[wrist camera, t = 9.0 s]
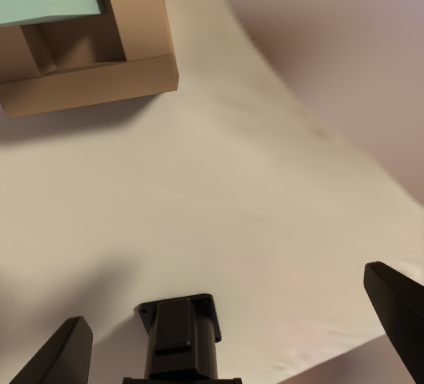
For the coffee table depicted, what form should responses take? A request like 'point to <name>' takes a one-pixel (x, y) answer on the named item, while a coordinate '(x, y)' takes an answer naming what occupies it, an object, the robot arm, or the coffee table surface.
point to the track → (87, 59)
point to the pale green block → (47, 11)
